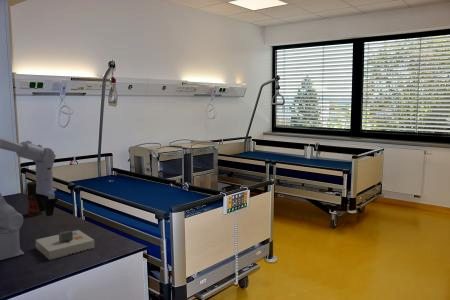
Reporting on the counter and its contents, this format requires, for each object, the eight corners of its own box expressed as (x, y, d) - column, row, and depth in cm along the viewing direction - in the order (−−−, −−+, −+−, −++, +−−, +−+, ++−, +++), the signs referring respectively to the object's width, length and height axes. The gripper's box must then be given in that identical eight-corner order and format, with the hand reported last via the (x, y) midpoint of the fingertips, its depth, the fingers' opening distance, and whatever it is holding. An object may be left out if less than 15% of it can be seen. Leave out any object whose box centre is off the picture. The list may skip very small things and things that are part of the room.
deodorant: (25, 214, 175) (23, 183, 173) (37, 211, 181) (35, 180, 179) (33, 216, 173) (32, 184, 171) (45, 213, 178) (43, 182, 176)
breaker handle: (61, 242, 135) (61, 234, 135) (59, 240, 137) (58, 232, 136) (72, 239, 138) (72, 231, 137) (70, 237, 140) (69, 230, 139)
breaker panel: (49, 259, 128) (49, 251, 127) (35, 247, 138) (35, 239, 137) (94, 247, 139) (94, 239, 138) (78, 237, 149) (78, 229, 148)
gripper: (62, 180, 141) (63, 215, 142) (48, 174, 151) (50, 207, 153) (42, 183, 136) (44, 219, 138) (29, 176, 146) (31, 210, 148)
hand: (46, 213), depth 145 cm, fingers open, 7 cm apart
